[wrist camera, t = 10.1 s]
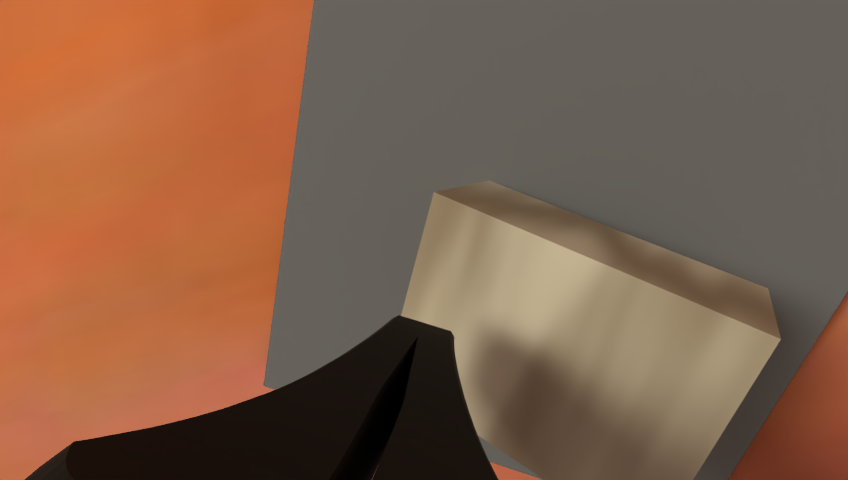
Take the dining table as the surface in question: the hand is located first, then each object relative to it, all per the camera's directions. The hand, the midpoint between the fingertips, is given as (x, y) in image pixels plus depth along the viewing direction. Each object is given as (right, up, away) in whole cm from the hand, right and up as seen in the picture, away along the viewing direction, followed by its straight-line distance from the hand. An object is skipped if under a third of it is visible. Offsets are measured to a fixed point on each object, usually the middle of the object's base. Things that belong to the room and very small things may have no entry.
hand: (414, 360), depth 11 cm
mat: (+4, +3, +5) cm, 8 cm away
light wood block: (+1, +2, +4) cm, 5 cm away
